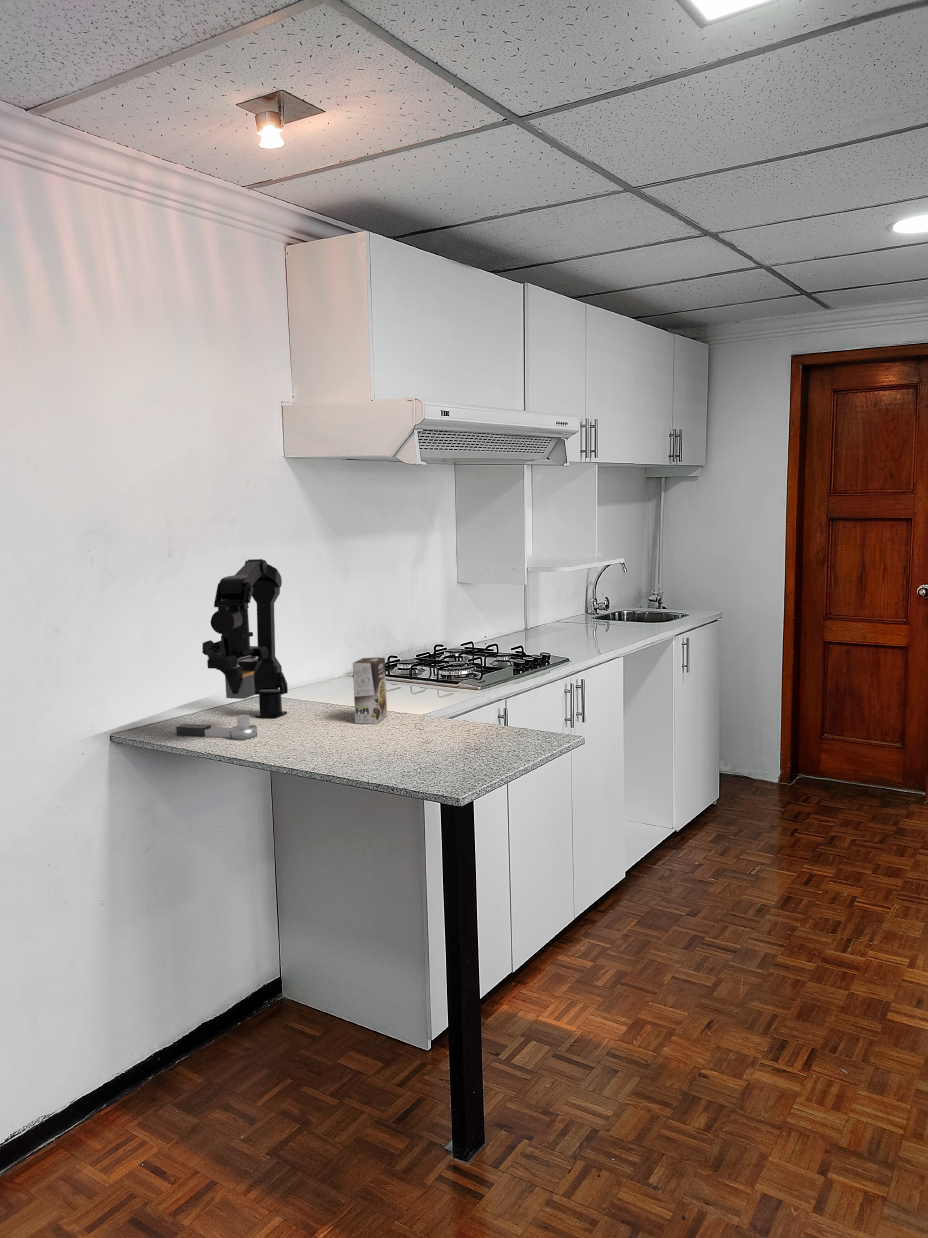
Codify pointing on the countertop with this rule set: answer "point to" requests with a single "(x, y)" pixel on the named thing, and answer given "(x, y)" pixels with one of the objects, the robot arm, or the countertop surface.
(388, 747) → the countertop surface
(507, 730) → the countertop surface
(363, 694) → the coffee box
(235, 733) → the ratchet
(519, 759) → the countertop surface
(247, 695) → the grey block
